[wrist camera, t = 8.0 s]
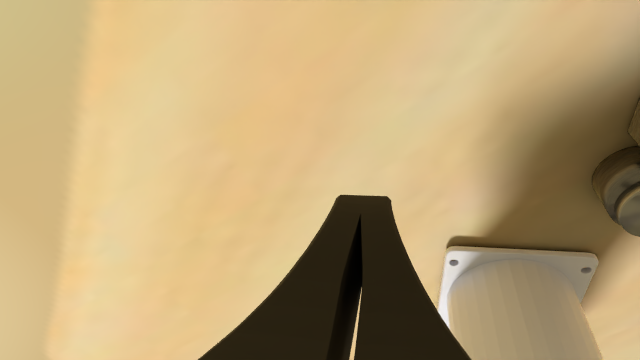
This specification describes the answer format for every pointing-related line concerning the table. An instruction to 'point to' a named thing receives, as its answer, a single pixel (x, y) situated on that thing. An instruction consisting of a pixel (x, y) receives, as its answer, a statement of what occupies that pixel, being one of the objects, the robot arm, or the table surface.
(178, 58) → the table surface
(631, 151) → the tongs base
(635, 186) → the bar
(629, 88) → the table surface
